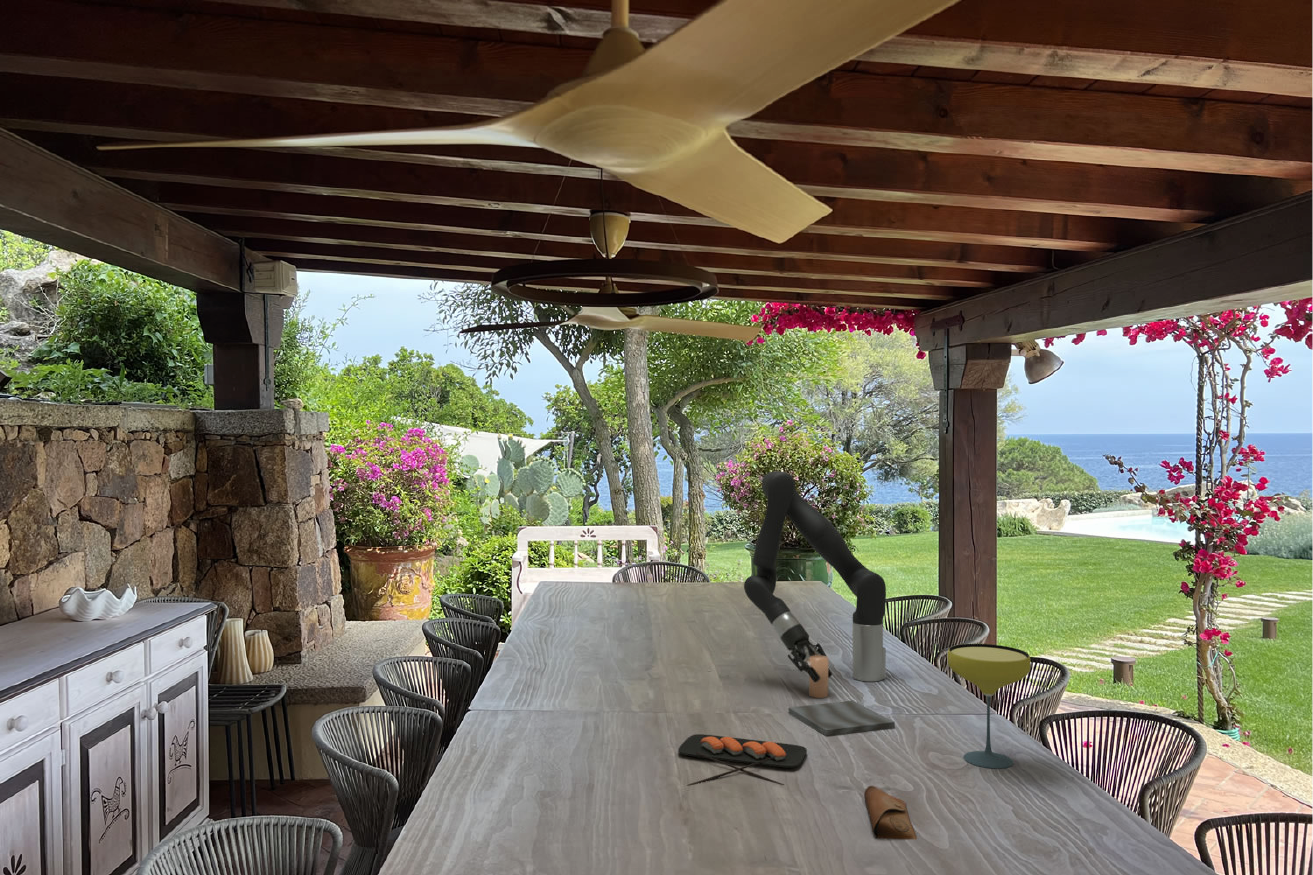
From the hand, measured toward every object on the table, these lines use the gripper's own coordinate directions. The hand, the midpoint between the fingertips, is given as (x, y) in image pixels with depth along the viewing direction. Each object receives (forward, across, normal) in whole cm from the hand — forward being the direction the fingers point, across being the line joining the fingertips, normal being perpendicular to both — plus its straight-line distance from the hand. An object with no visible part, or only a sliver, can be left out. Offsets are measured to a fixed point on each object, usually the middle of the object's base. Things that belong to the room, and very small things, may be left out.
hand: (823, 678), depth 258 cm
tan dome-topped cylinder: (+2, 0, +5) cm, 6 cm away
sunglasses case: (+44, -61, -36) cm, 83 cm away
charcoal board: (+15, -15, -7) cm, 22 cm away
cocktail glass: (+43, -16, -36) cm, 59 cm away
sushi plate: (+16, -60, -8) cm, 63 cm away
